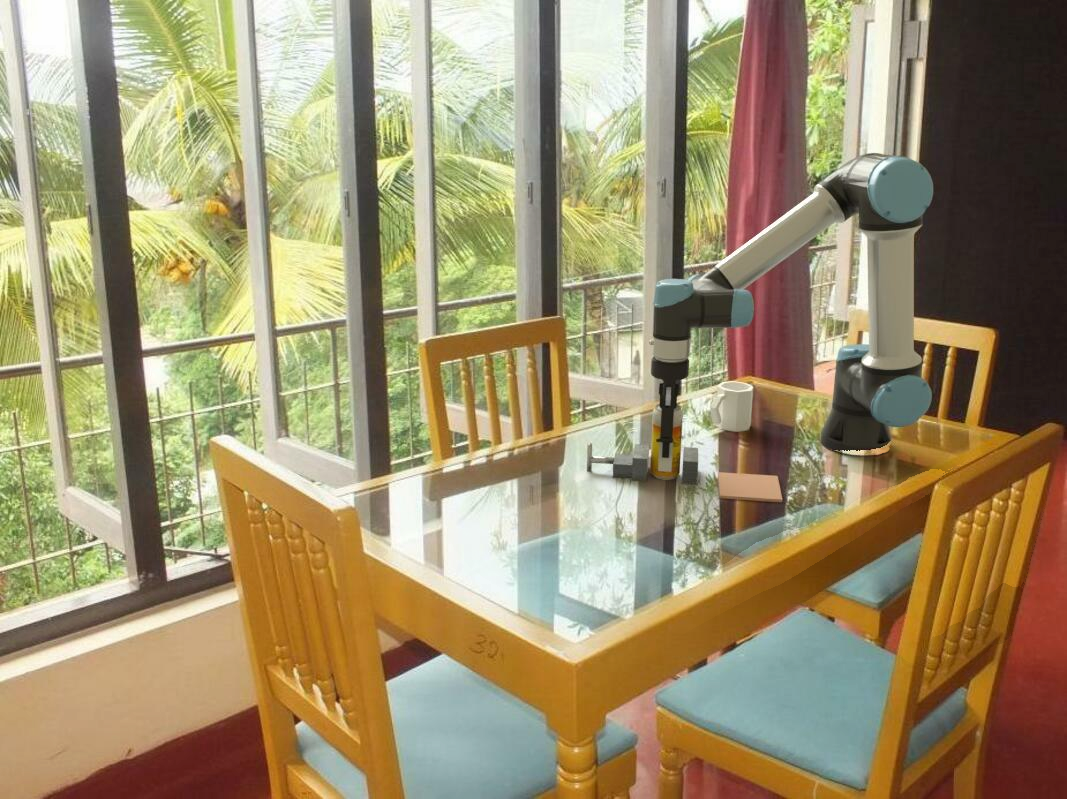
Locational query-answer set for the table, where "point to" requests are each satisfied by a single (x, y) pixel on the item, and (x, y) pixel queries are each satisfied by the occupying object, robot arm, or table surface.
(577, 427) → the table surface
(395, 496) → the table surface
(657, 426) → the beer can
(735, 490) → the coaster
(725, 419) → the mug
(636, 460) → the vise
